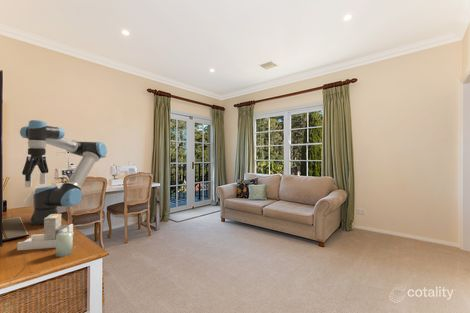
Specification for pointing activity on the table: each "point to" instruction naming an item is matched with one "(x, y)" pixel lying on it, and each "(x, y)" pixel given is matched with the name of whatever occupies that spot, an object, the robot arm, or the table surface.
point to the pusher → (60, 230)
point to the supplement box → (51, 226)
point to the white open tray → (40, 241)
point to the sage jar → (64, 243)
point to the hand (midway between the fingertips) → (35, 185)
